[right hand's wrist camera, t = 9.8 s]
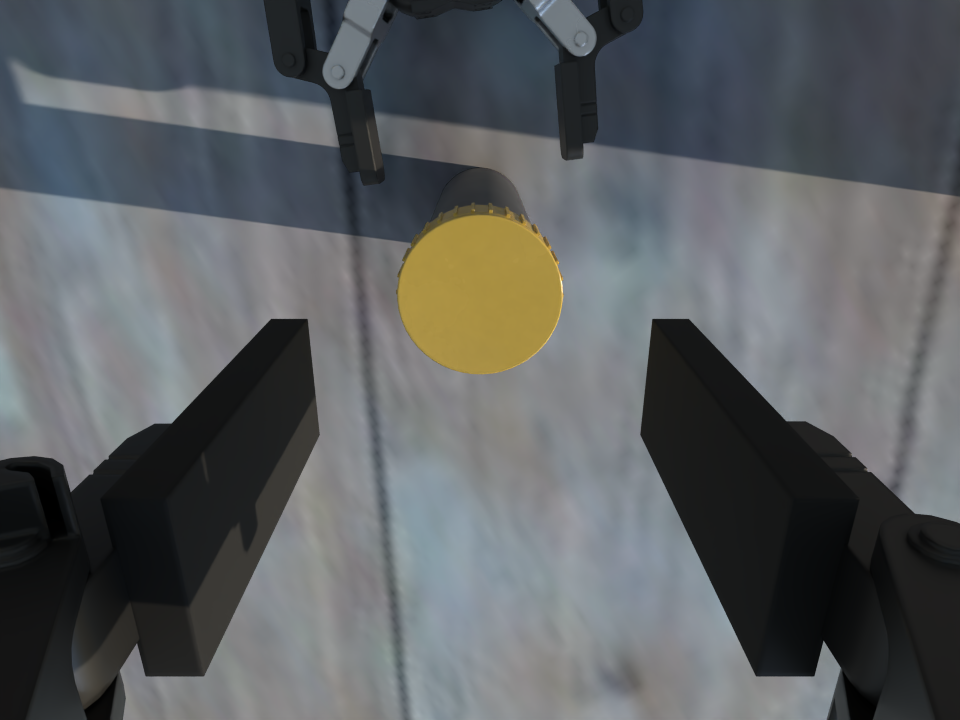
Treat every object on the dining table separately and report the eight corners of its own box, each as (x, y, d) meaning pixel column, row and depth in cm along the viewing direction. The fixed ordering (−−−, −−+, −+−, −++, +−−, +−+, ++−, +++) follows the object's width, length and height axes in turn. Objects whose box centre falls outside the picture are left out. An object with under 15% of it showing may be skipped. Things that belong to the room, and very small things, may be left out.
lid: (418, 184, 20) (411, 193, 18) (576, 223, 21) (586, 235, 19) (389, 335, 22) (380, 357, 20) (535, 367, 23) (540, 391, 21)
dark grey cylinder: (448, 158, 34) (422, 205, 19) (531, 178, 34) (570, 240, 19) (430, 241, 36) (395, 345, 21) (509, 260, 36) (531, 375, 21)
